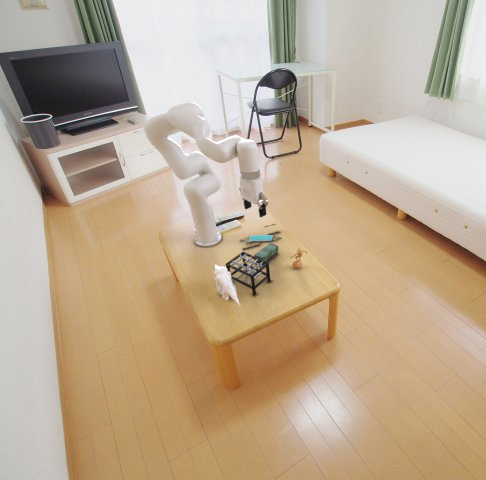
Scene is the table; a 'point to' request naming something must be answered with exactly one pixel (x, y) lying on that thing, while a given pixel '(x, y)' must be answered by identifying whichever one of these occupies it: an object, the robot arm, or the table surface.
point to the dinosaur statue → (225, 283)
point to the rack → (249, 267)
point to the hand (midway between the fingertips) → (255, 211)
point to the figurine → (298, 263)
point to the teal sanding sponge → (267, 253)
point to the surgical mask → (261, 238)
